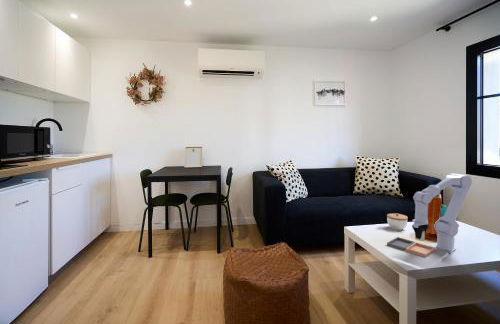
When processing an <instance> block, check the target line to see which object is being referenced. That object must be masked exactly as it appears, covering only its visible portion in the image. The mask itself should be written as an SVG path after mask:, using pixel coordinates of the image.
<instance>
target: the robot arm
mask: <svg viewBox="0 0 500 324" xmlns="http://www.w3.org/2000/svg"><path fill="white" fill-rule="evenodd" d="M472 184H473V180H472V177H471V176H470V175H468V174H458V173H453V172H450V173H448V174H447V175H446V176H445V178H444V179H442V180H441V181H439V182H438V183H437V184H430V185H428V187H426V188H424V189H422V190H421V191H416V192H415V193H414V195H413V196H412V199H413V201H414V205H415V207H414V211H415V213H414V219H412V222H413V224H412V226H411V227H412V228H411V229H413V232H414V237H415V236H416V238H417V239H421V236H422V232H423V230H424V231H425V234H426V233H427V231H428V229H429V227H430V224H429V219H428V215H429V204H430V203H431V202H432V200H433V198H435V197H437V196H438V195H440V194H441V191H443V190H444V189H446V188H449V187H450V188H452V189H453V190H454V192H453V195H452V196H451V199H450V201H449V204H448V206H447V210H446V213H445V215H444V216H443V217H440V218H439V219H438V220H437V221H436V222H435V224H434V228H435V230H436V232H437V233H436V232H435V233H436V235H437V236H436V238H437V239H436V247H437V248H438V249H439V250H443V251H448V252H447V253H448V254H452V253H453V252H454V251H456V250H457V248H456V247H455V236H457V235H458V233H459V227H460V225H459V223H458V222H457V221H456V220H457V218H458V216H459V213H460V211H461V209H462V206H463V204H464V202H465V200H466V197H467V195H468V192H469V190H470V188H471V186H472ZM446 222H447V223H446ZM448 223H450V224H448Z"/></svg>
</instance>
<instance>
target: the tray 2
mask: <svg viewBox="0 0 500 324" xmlns="http://www.w3.org/2000/svg"><path fill="white" fill-rule="evenodd" d="M414 242H415V243H414V244H412V245H410V246H409V247H407V248H406V250H405V252H408V253H411V254H414V255H417V256H421V257H423V258H427V257H429V255H430V254H432V253H434V251H436V247H434V246H432V245H427V244H423V243H420V242H418V241H414Z"/></svg>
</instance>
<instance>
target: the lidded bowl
mask: <svg viewBox="0 0 500 324" xmlns="http://www.w3.org/2000/svg"><path fill="white" fill-rule="evenodd" d="M386 218H387V219H386V221H387V224H388V226H389V228H391V229H392V230H394V229H395V231H403V230H404V229H405V228H406V227H407V225H408V216H407V215H405V214H401V213H397V212H396V213H387V215H386ZM402 229H403V230H402Z"/></svg>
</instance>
